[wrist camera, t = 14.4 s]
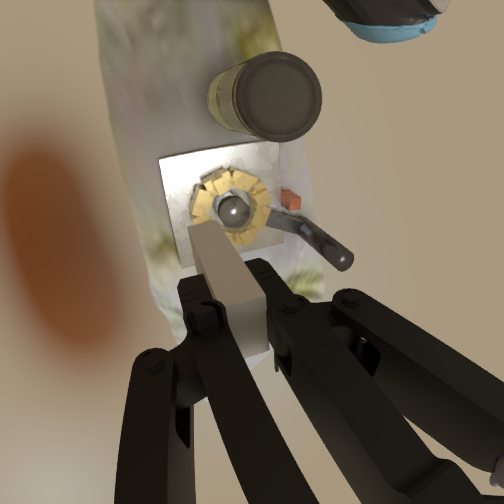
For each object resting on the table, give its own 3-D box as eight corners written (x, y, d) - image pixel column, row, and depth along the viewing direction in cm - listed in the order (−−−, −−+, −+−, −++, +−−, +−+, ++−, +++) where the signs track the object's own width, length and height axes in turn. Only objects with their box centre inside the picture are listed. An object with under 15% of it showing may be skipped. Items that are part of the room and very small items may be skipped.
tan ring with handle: (181, 232, 44) (197, 278, 33) (205, 159, 40) (231, 181, 29) (295, 255, 53) (335, 296, 43) (321, 197, 49) (370, 227, 39)
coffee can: (244, 53, 35) (288, 35, 24) (284, 103, 41) (337, 107, 30) (191, 95, 36) (212, 88, 25) (235, 144, 42) (273, 161, 30)
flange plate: (158, 158, 39) (160, 165, 34) (285, 137, 44) (302, 142, 39) (180, 264, 48) (185, 281, 44) (289, 236, 53) (304, 250, 49)
